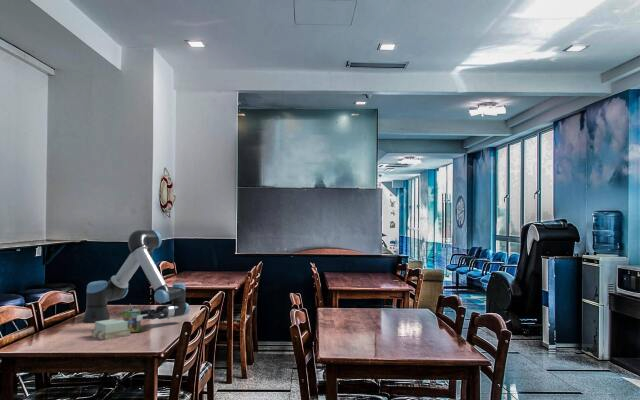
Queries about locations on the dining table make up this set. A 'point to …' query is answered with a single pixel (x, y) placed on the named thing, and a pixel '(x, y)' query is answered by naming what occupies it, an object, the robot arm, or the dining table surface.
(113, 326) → the top block
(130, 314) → the chalk box
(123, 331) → the bottom block
